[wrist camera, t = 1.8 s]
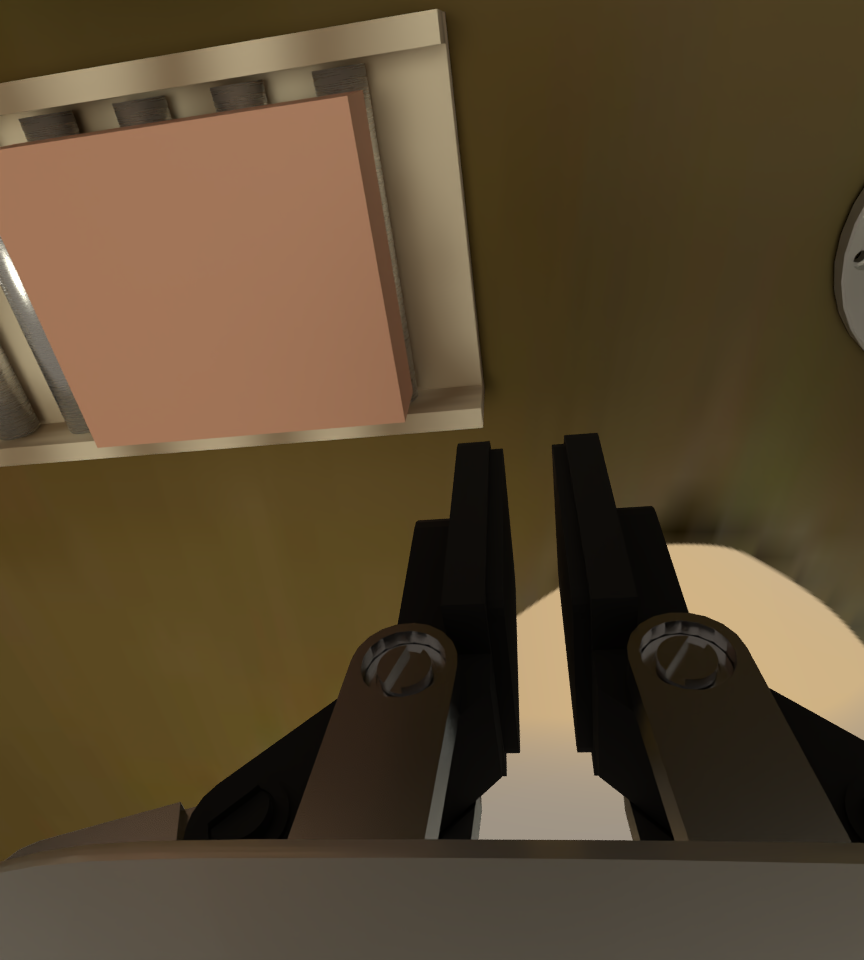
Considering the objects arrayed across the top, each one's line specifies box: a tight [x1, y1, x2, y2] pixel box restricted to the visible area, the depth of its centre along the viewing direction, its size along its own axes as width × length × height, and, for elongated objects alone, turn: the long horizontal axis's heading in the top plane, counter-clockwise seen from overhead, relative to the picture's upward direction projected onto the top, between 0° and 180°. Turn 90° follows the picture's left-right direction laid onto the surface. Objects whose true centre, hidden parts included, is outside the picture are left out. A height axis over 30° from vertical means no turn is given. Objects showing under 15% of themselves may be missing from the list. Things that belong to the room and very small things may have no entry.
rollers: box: [0, 63, 418, 440], centre depth 31 cm, size 26×14×2 cm, turn 98°
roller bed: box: [0, 9, 485, 467], centre depth 31 cm, size 32×16×4 cm, turn 98°
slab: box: [0, 90, 413, 448], centre depth 28 cm, size 14×12×3 cm
